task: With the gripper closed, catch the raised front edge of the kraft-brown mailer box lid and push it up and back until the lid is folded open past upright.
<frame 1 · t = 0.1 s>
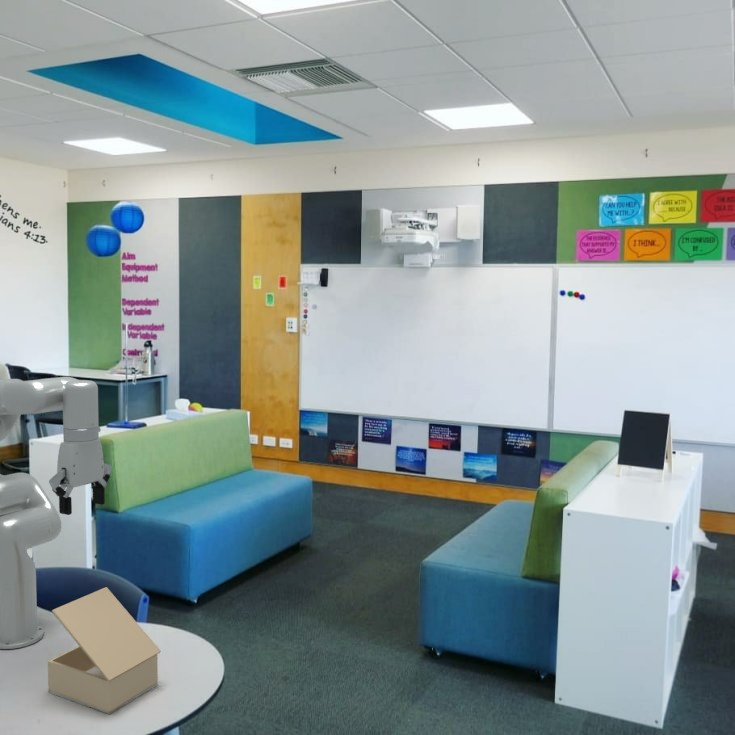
hand: (82, 508, 179), 37 cm above the table, tool pointing down, fingers open, 9 cm apart
mailer box: (103, 688, 170), on the table
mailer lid: (107, 631, 168), point 13 cm above the table, hinge at 35.0°
scissors: (112, 640, 195), on the table
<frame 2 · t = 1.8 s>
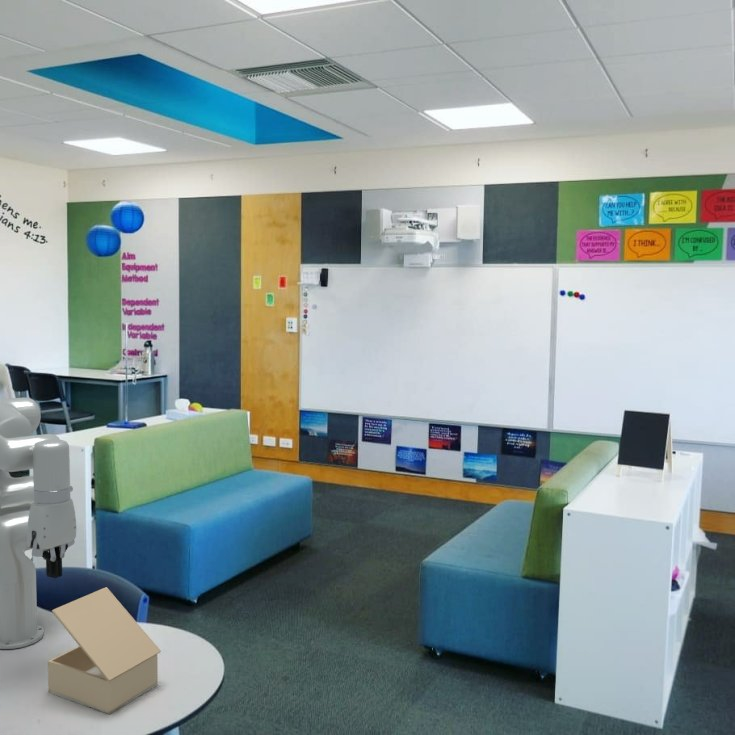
hand: (54, 576, 175), 23 cm above the table, tool pointing down, fingers closed
nothing on the table moved.
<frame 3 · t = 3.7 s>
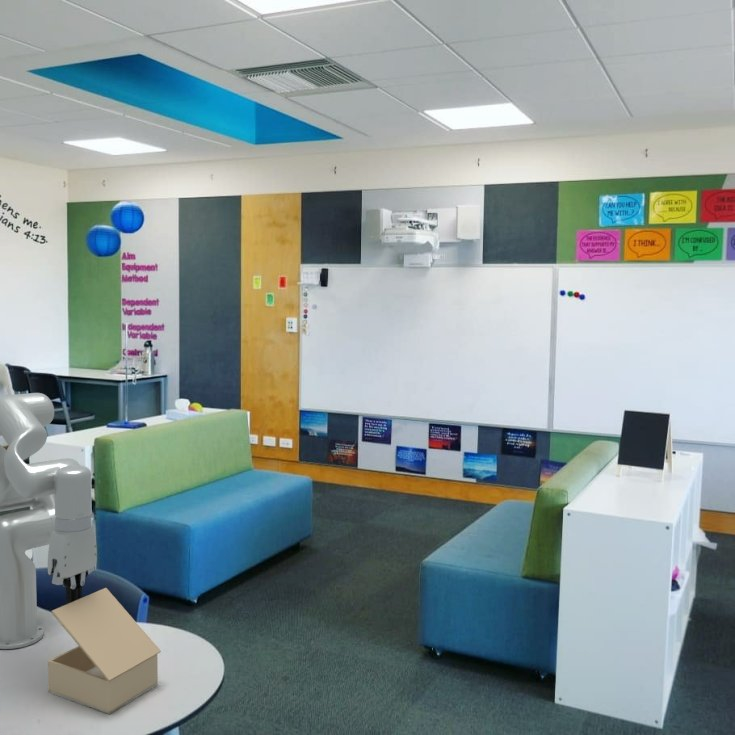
hand: (74, 603, 173), 17 cm above the table, tool pointing down, fingers closed
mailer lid: (107, 632, 168), point 13 cm above the table, hinge at 34.3°, touching gripper
everything else where it was.
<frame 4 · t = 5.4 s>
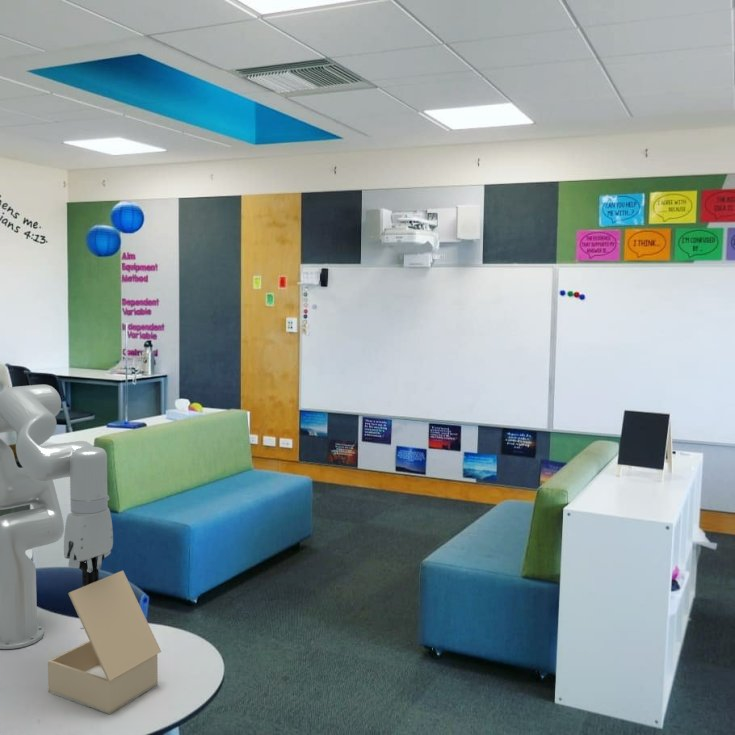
hand: (90, 587, 170), 22 cm above the table, tool pointing down, fingers closed
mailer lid: (116, 623, 167), point 16 cm above the table, hinge at 55.7°, touching gripper
everything else where it was.
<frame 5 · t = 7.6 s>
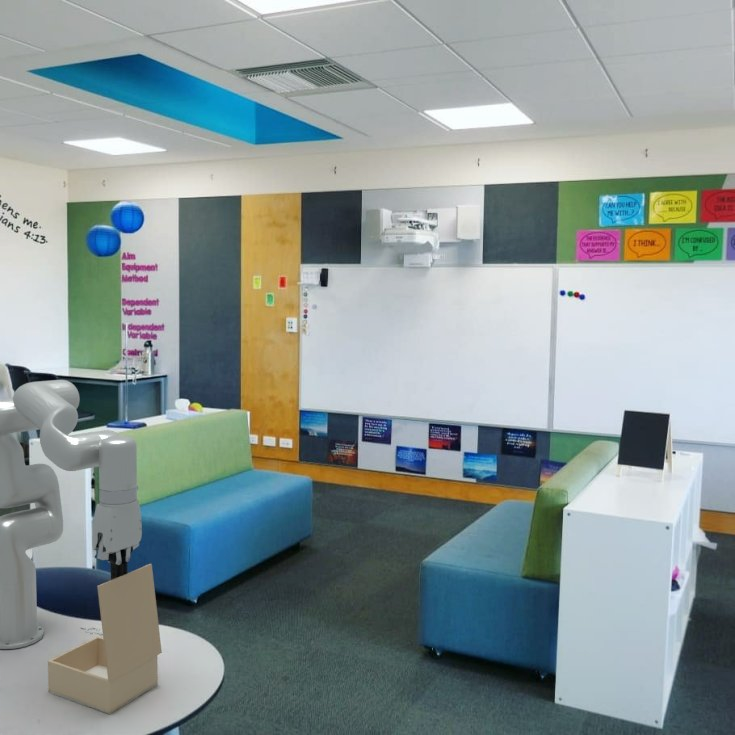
hand: (119, 580, 166), 25 cm above the table, tool pointing down, fingers closed
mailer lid: (130, 620, 165), point 17 cm above the table, hinge at 82.1°, touching gripper
everything else where it was.
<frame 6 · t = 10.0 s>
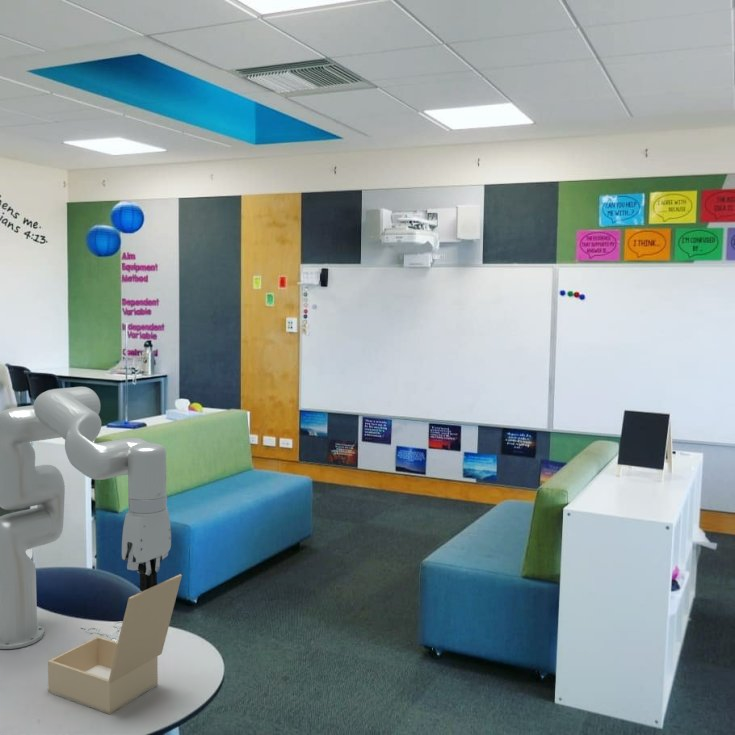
hand: (148, 590, 162), 25 cm above the table, tool pointing down, fingers closed
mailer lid: (146, 627, 163), point 17 cm above the table, hinge at 107.2°, touching gripper
everything else where it was.
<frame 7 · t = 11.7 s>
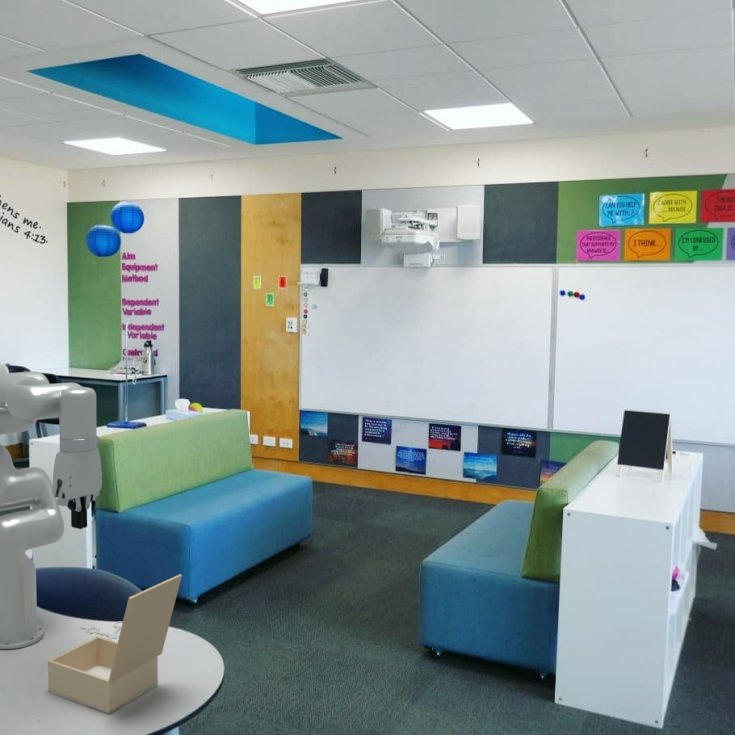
hand: (79, 527, 171), 35 cm above the table, tool pointing down, fingers closed
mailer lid: (146, 627, 163), point 17 cm above the table, hinge at 107.2°
everything else where it was.
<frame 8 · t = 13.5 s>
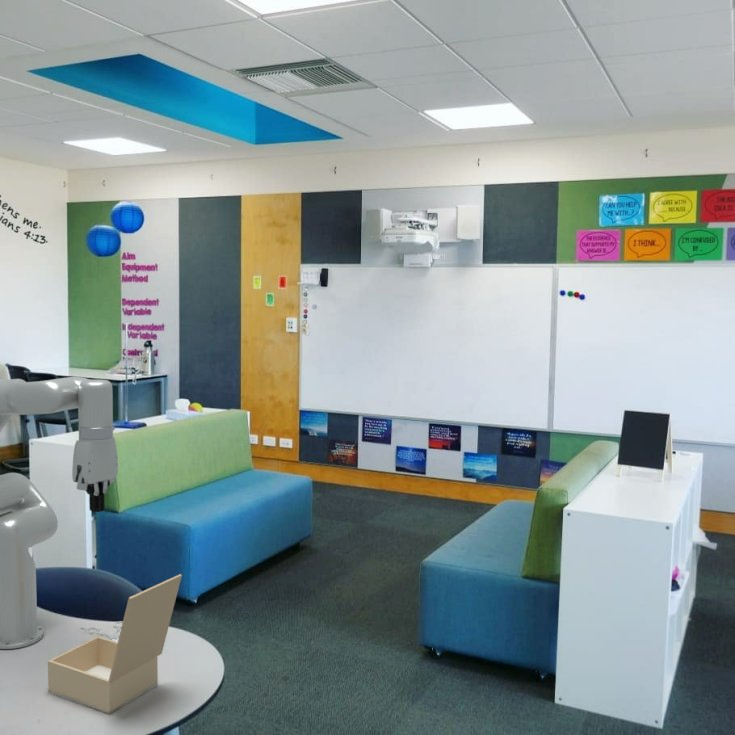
hand: (97, 510, 183), 35 cm above the table, tool pointing down, fingers closed
nothing on the table moved.
at the end: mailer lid at +107° (first picture: +35°) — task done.
